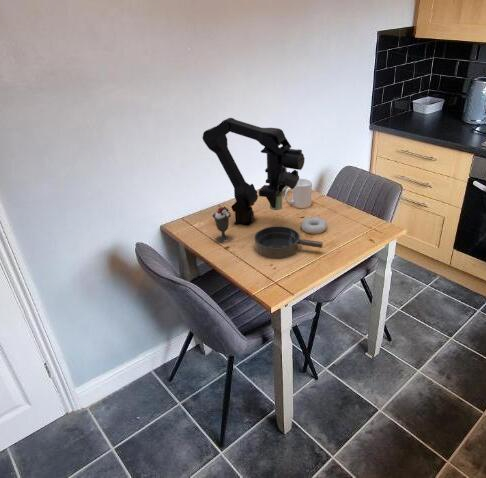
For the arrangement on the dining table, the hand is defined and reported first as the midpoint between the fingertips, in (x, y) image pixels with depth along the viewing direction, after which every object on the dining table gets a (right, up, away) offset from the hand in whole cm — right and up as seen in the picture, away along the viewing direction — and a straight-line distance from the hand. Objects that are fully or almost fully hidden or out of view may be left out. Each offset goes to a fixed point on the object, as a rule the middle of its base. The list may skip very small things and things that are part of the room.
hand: (275, 205), depth 161 cm
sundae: (-19, -13, -1) cm, 23 cm away
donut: (+14, -9, +5) cm, 18 cm away
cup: (+9, +2, +24) cm, 25 cm away
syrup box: (+1, +8, +35) cm, 36 cm away
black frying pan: (+1, -16, -7) cm, 17 cm away
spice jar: (0, -1, 0) cm, 1 cm away
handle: (+12, -15, -12) cm, 23 cm away
